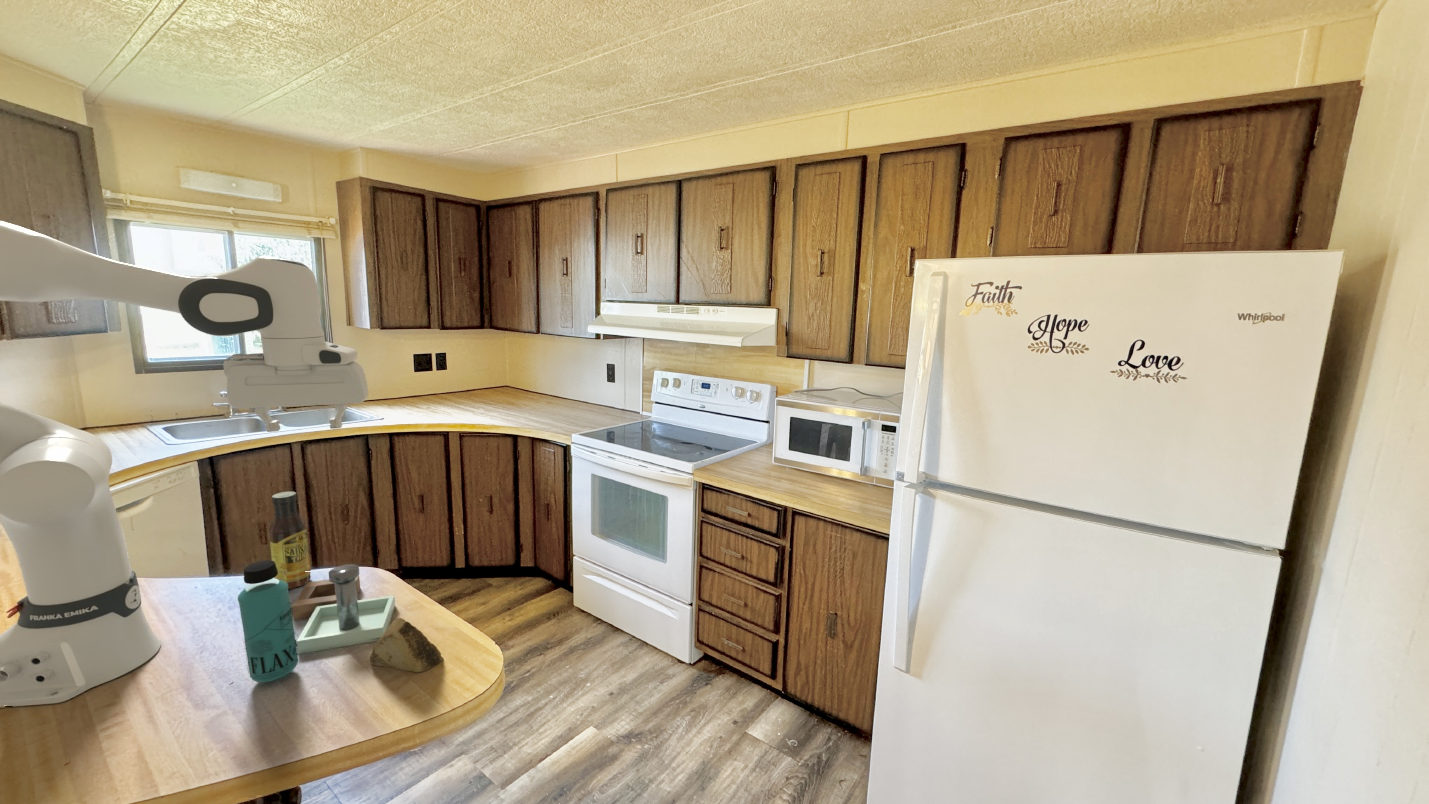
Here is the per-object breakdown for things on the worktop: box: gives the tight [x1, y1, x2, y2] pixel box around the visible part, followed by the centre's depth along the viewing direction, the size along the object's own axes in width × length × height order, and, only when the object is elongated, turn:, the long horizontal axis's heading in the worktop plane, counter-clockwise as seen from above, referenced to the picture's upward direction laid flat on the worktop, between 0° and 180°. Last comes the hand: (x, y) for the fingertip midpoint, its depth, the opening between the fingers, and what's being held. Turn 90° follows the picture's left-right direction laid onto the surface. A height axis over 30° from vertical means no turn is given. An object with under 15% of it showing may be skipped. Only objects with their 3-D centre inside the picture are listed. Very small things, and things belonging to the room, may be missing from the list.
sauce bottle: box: [268, 491, 312, 590], centre depth 115 cm, size 7×6×20 cm
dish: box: [296, 595, 396, 655], centre depth 102 cm, size 13×11×2 cm
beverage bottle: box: [237, 559, 300, 683], centre depth 88 cm, size 6×7×20 cm
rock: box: [369, 617, 444, 673], centre depth 94 cm, size 11×9×10 cm
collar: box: [291, 575, 361, 621], centre depth 110 cm, size 9×9×3 cm
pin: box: [328, 563, 360, 631], centre depth 101 cm, size 5×5×11 cm
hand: (305, 429), depth 99 cm, fingers open, 8 cm apart
